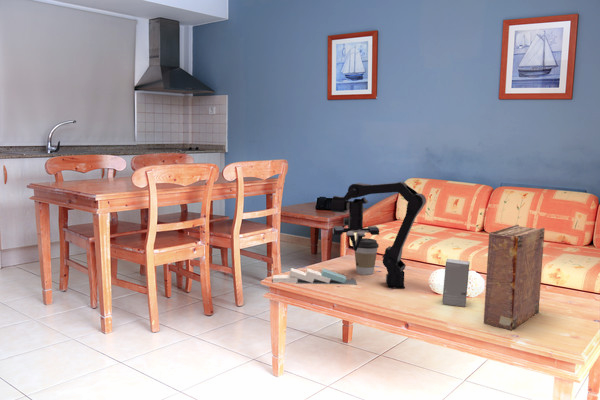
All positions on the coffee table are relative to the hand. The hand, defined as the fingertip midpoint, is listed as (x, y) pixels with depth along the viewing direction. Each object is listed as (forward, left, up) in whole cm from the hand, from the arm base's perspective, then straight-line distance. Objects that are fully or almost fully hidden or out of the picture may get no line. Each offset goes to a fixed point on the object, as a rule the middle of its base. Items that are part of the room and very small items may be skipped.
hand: (355, 250), depth 219 cm
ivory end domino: (+24, +3, -12) cm, 27 cm away
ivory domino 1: (+17, +3, -12) cm, 21 cm away
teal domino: (+4, +3, -12) cm, 13 cm away
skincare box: (-34, +28, -13) cm, 46 cm away
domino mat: (+12, +2, -13) cm, 18 cm away
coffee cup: (-6, -13, -13) cm, 19 cm away
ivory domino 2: (+11, +3, -12) cm, 16 cm away
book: (-49, +43, -13) cm, 67 cm away
